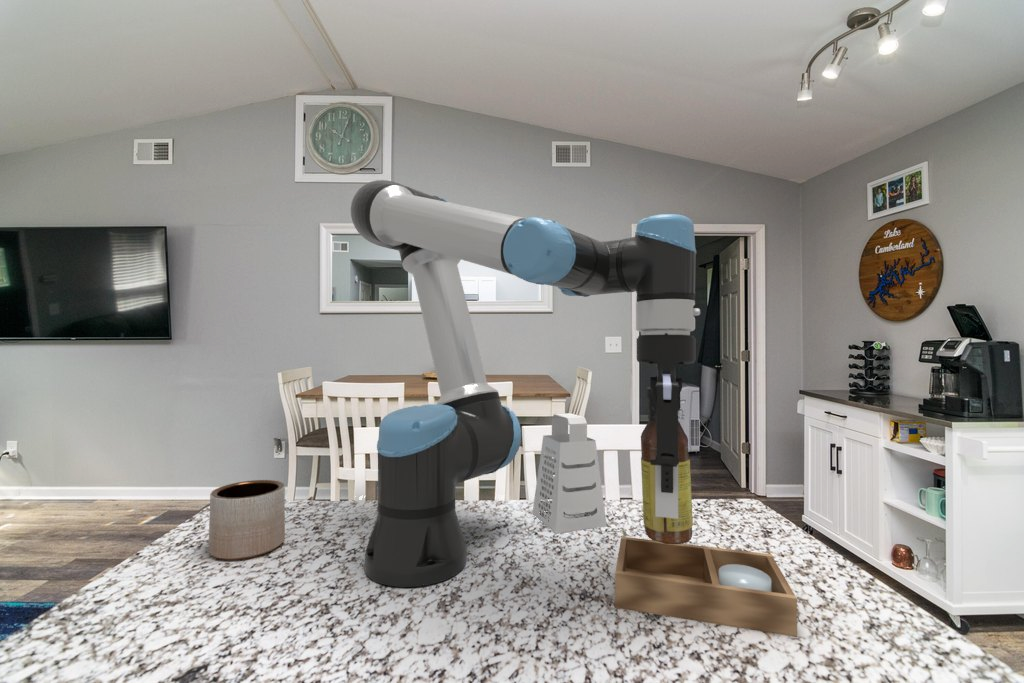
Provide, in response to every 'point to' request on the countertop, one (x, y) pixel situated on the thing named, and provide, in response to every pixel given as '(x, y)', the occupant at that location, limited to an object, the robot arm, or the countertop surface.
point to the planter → (246, 519)
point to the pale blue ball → (744, 577)
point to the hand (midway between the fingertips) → (665, 507)
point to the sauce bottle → (654, 526)
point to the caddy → (701, 586)
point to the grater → (569, 477)
